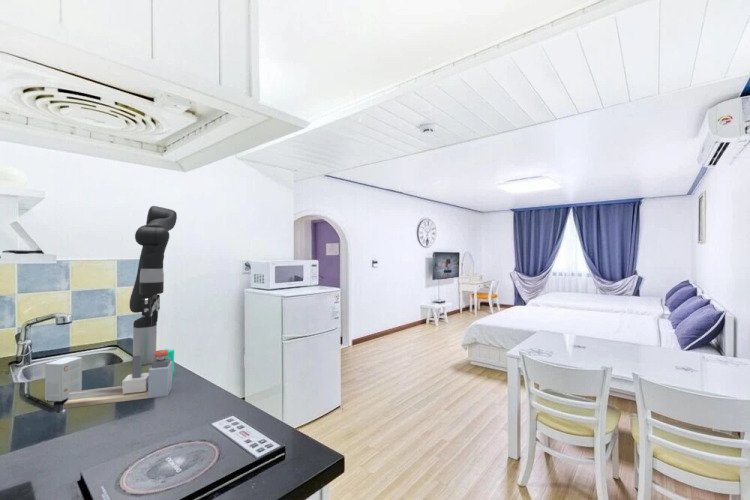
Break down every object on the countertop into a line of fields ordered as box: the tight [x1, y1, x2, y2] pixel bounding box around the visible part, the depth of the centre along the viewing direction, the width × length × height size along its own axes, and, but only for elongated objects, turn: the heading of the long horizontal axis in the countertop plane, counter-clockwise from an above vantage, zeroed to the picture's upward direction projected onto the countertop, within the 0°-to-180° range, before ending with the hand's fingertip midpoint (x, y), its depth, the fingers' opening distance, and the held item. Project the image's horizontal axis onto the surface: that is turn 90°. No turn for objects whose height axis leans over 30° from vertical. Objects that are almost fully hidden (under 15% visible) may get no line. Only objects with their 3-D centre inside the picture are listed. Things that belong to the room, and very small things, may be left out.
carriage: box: [121, 354, 149, 394], centre depth 125 cm, size 7×7×13 cm
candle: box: [157, 348, 175, 377], centre depth 145 cm, size 6×6×12 cm
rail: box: [62, 384, 149, 409], centre depth 122 cm, size 9×24×4 cm, turn 112°
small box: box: [44, 356, 83, 402], centre depth 123 cm, size 8×6×13 cm
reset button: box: [154, 349, 168, 361], centre depth 128 cm, size 4×4×3 cm
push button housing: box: [147, 358, 173, 399], centre depth 128 cm, size 9×6×12 cm, turn 22°
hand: (150, 324), depth 127 cm, fingers open, 8 cm apart
